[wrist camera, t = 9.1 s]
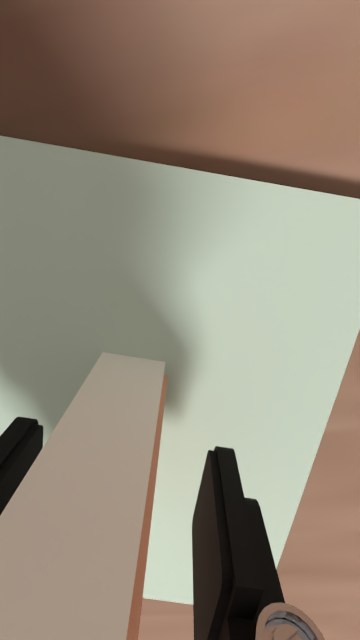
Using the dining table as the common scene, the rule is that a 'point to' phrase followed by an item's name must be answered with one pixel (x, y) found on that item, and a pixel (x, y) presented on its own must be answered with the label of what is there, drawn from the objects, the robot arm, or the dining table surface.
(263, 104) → the dining table surface
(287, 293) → the mat
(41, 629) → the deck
